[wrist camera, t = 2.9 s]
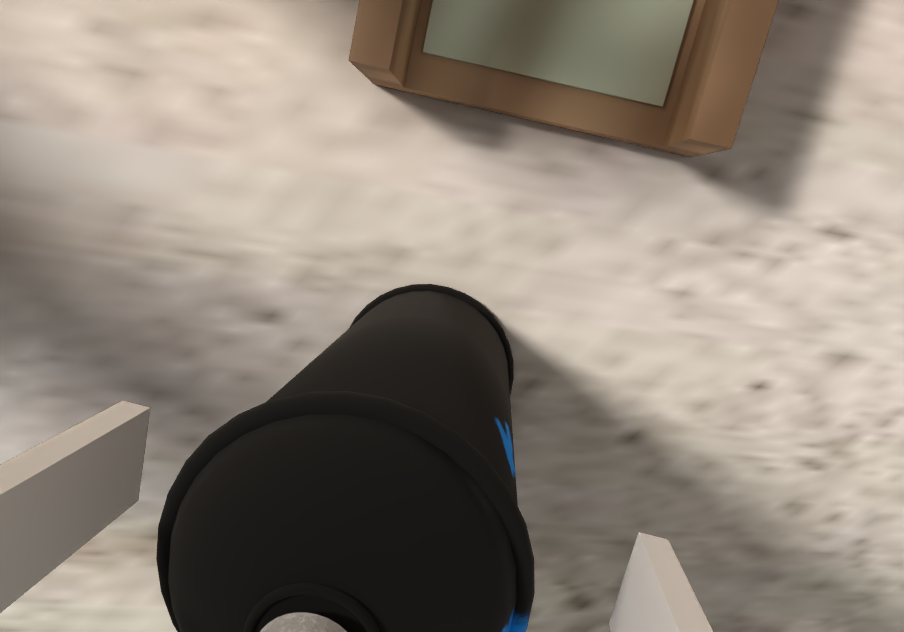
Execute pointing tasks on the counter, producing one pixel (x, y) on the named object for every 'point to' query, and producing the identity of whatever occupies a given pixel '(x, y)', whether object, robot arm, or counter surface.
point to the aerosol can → (362, 488)
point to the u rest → (577, 62)
